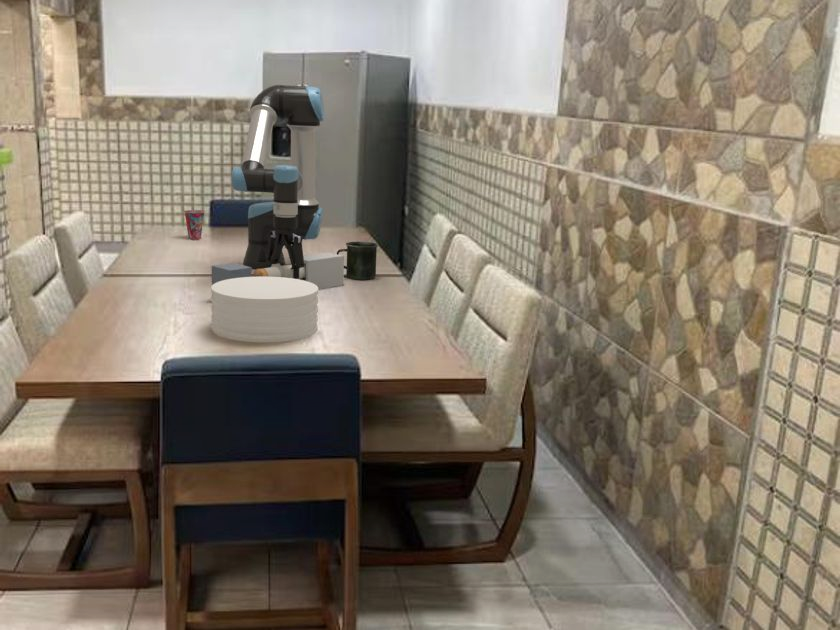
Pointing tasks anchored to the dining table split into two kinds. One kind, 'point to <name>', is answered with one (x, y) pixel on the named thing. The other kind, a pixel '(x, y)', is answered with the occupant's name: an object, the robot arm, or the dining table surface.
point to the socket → (229, 272)
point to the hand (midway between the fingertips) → (284, 286)
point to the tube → (279, 271)
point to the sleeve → (324, 270)
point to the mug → (360, 260)
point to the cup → (194, 223)
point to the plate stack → (264, 309)
